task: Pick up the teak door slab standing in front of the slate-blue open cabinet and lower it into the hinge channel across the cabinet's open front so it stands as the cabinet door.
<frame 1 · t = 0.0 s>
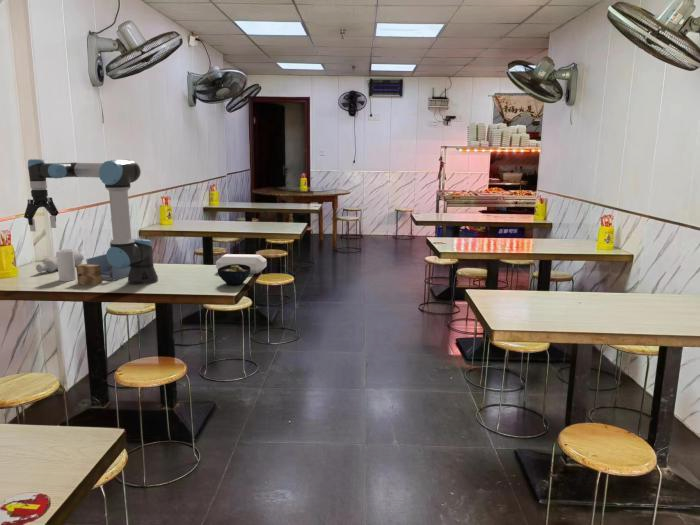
hand: (43, 229, 286), 28 cm above the table, fingers open, 13 cm apart
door: (90, 283, 287), on the table
bowl: (234, 284, 287), on the table
cup: (67, 279, 295), on the table
cabinet: (105, 277, 299), on the table
bottle: (60, 269, 321), on the table
crystal: (241, 272, 316), on the table
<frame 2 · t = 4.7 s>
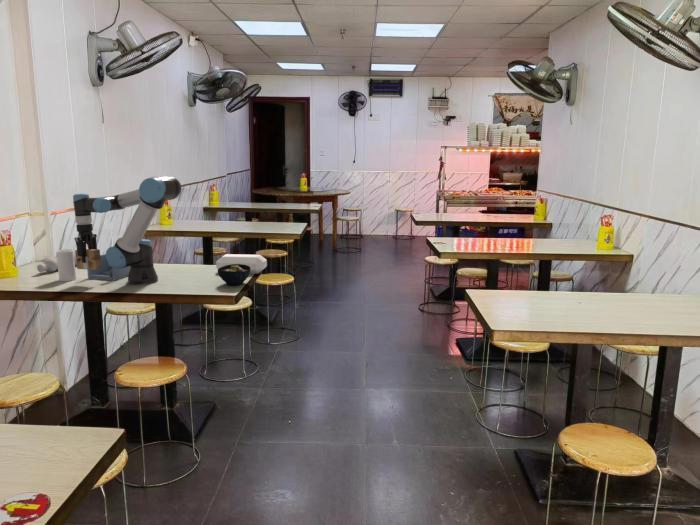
hand: (89, 267, 285), 9 cm above the table, fingers closed on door, 4 cm apart
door: (89, 268, 285), point 8 cm above the table, touching gripper
everything else where it was.
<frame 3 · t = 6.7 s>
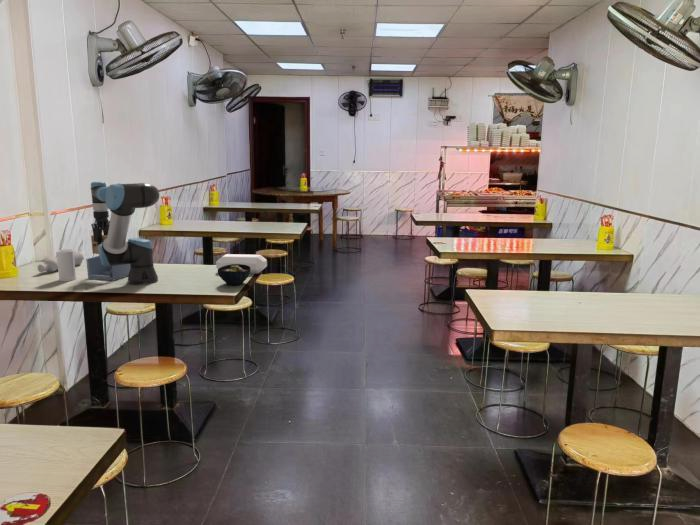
hand: (104, 252, 297), 14 cm above the table, fingers closed on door, 4 cm apart
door: (104, 253, 298), point 14 cm above the table, touching gripper
everything else where it was.
when the fingers open (2 cm above the table, at t = 8.9 s): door drops 2 cm, resting in cabinet.
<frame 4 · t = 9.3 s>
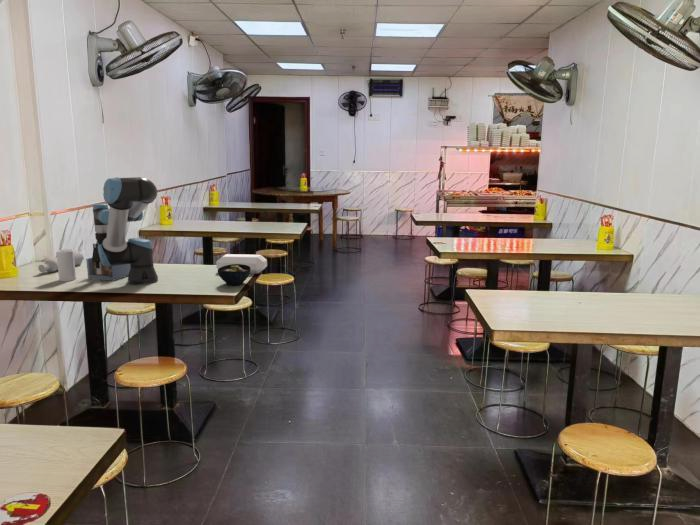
hand: (106, 271, 300), 3 cm above the table, fingers open, 10 cm apart
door: (106, 277, 300), resting in cabinet
everything else where it was.
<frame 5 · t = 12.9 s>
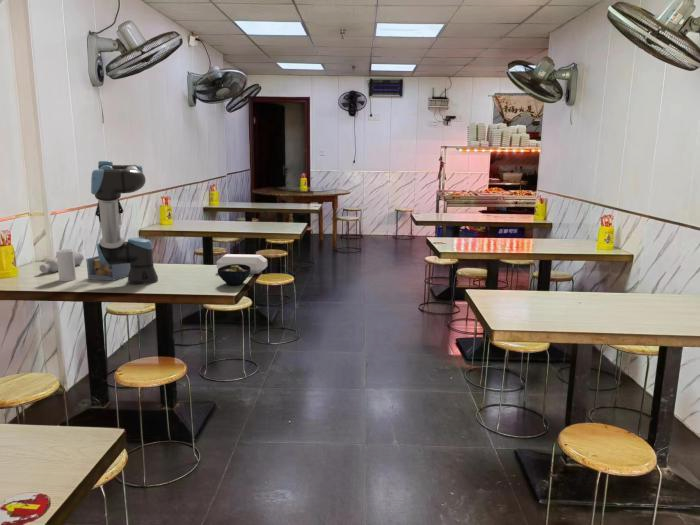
hand: (111, 226, 308), 27 cm above the table, fingers open, 13 cm apart
at the end: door 0.2 cm from the target spot on the cabinet, point 0.0 cm above the cabinet's base; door tilted 0°; the gripper is holding nothing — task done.
